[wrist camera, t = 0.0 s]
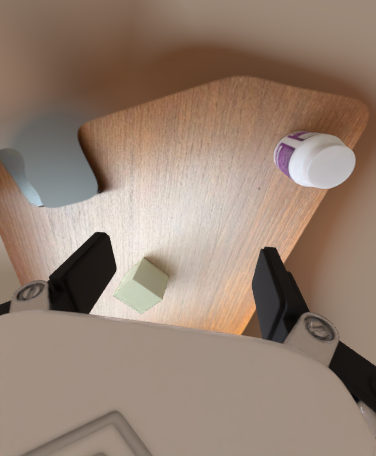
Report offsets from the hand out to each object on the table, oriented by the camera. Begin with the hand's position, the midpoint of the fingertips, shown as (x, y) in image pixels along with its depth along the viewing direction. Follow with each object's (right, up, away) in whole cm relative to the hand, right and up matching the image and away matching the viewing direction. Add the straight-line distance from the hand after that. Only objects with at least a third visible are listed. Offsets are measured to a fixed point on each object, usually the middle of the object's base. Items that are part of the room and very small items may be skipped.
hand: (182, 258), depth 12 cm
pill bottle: (+15, +12, +14) cm, 24 cm away
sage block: (-9, -8, +30) cm, 32 cm away
